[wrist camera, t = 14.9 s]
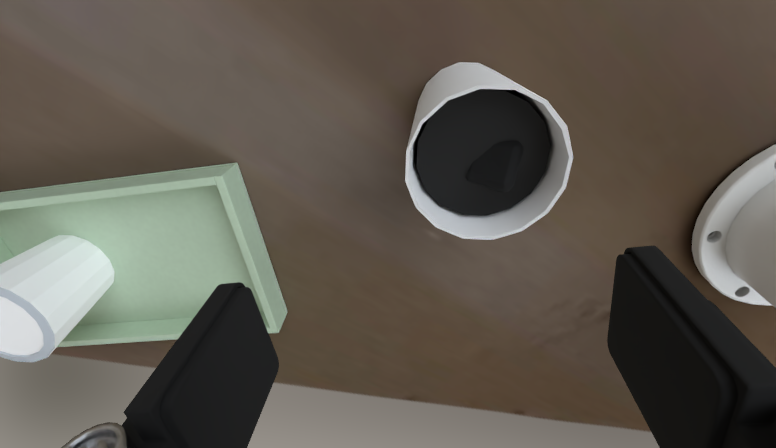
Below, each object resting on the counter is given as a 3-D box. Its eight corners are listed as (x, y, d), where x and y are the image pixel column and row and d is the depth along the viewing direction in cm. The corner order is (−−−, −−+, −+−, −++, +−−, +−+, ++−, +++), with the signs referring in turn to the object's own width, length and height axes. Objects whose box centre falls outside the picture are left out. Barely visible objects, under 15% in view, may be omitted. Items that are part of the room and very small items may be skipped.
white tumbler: (536, 67, 24) (603, 106, 15) (497, 172, 27) (534, 254, 18) (425, 41, 23) (427, 64, 15) (399, 150, 27) (388, 222, 18)
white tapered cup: (132, 256, 32) (63, 317, 26) (110, 311, 35) (44, 378, 29) (43, 211, 30) (-53, 264, 24) (28, 273, 33) (-60, 333, 27)
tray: (237, 162, 28) (221, 175, 26) (288, 311, 34) (278, 333, 32) (-27, 195, 31) (-61, 209, 29) (63, 328, 37) (41, 348, 35)
